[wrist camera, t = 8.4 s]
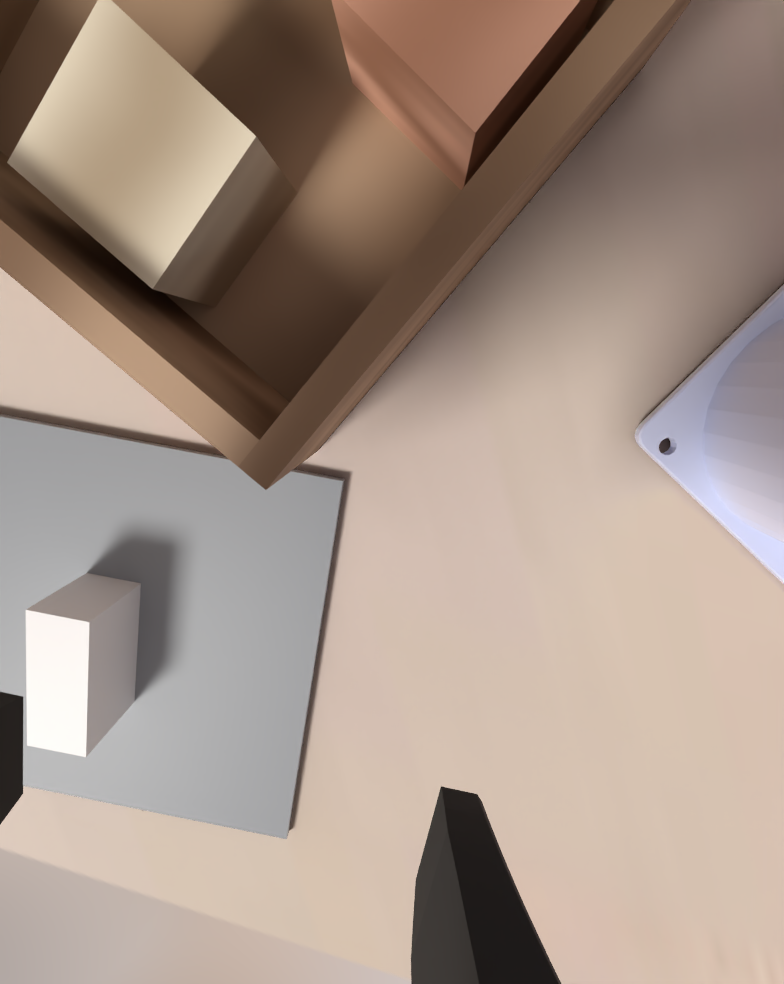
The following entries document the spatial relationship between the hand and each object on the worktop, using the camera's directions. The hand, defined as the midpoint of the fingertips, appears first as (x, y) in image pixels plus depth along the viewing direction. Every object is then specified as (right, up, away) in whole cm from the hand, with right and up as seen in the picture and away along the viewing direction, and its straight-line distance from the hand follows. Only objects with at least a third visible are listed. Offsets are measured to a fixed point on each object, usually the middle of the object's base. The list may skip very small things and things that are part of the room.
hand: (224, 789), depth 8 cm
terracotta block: (+5, +16, +5) cm, 17 cm away
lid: (-8, 0, +11) cm, 13 cm away
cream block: (-3, +13, +6) cm, 15 cm away
